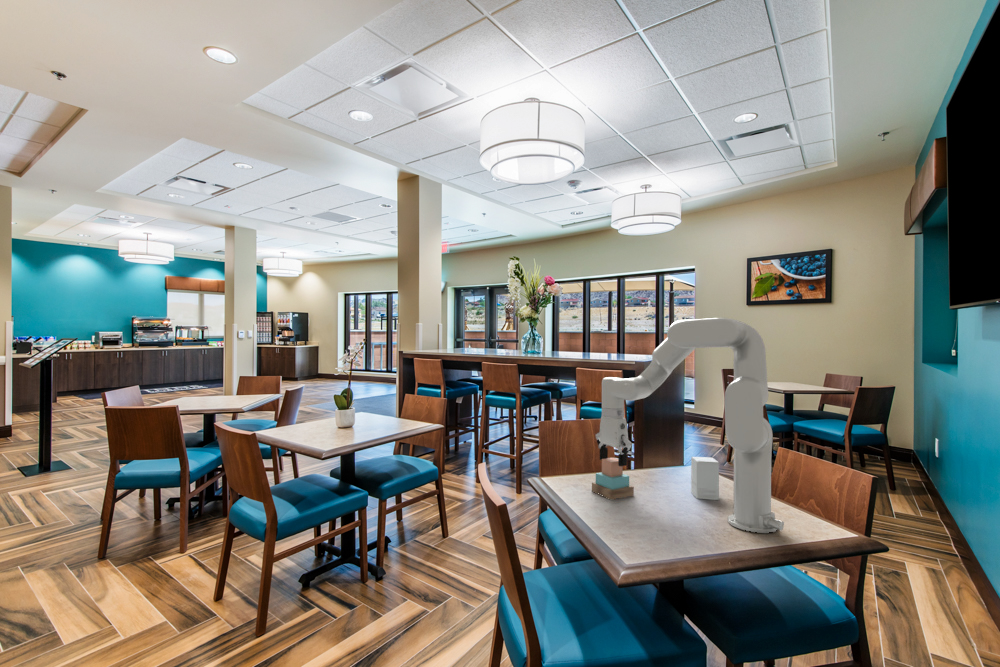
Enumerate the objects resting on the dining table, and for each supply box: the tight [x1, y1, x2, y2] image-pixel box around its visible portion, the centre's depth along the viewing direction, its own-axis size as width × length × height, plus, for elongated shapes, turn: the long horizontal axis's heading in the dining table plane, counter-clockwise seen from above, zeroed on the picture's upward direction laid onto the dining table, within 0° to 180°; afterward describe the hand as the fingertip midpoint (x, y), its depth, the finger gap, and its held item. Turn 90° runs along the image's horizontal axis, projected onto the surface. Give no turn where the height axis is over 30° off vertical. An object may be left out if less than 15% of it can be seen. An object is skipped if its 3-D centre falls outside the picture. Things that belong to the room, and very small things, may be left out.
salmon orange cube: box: [601, 457, 624, 477], centre depth 162 cm, size 5×5×5 cm
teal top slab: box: [595, 471, 630, 490], centre depth 162 cm, size 8×8×4 cm
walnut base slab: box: [591, 481, 635, 500], centre depth 162 cm, size 10×10×4 cm
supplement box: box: [690, 456, 720, 501], centre depth 160 cm, size 7×7×13 cm
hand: (612, 462), depth 162 cm, fingers open, 9 cm apart
